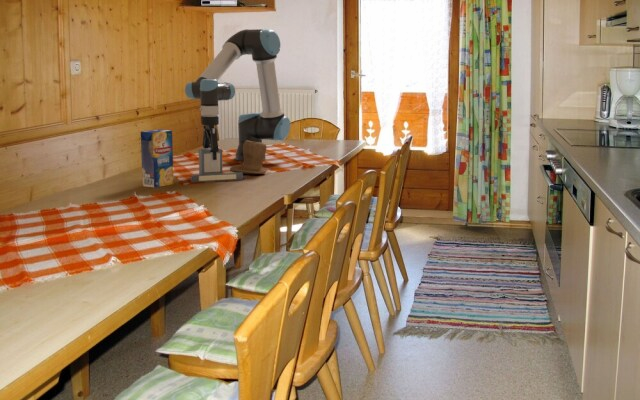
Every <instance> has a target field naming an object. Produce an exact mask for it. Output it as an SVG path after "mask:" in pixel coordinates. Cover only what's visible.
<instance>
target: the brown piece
mask: <svg viewBox="0 0 640 400" xmlns="http://www.w3.org/2000/svg"><path fill="white" fill-rule="evenodd" d="M266 152H267V144H266V142H263V141H262V142H255V141H249V140H246V141H245V142H244V144H243V156H244V161H243V163H242V164H239V165H238V164H236V165H232V166H231V167H230V168H229V171H230V173H238V172H242V173H243V175H263V174H265V173H267V170H266V169H265V168H264V167H263V165H262V164H263V161H264V160H263V159H264V157H265V155H266Z"/></svg>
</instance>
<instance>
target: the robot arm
mask: <svg viewBox="0 0 640 400" xmlns="http://www.w3.org/2000/svg"><path fill="white" fill-rule="evenodd" d="M280 48H281V40H280V37H279V35H278V34H277V32H276V31H274V30H273V29H265V28H261V29H254V28H253V29H242V30H239V31H237V32H235V33H234V34H232V35H231V36H230V37H229V38H228V39H227V40H226V41H225V42H224V43H223V44H222V48H221V50H220V51H219V53H218V54H217V55H216V56H215V57H214V59H213V60H212V61H211V62H210V63H209V65H208V66H207V67H206V68H205V69H204V71H203V72H202V73H201V74H200V76H199V77H197V79H196V80H195V81H189V82H186V85H185V88H184V93H185V95H186V97H187V98H189V99H192V100H200V107H199V111H200V115H201V116H200V124H201V125H202V126H203V135H202V145H201V146H202V149H210V148H211V150H210V152H211V168H213V167H218V162H217V152H218V151H219V142H218V133H217V132H218V131H217V130H218V129H217V128H215V126H217V125H219V123H220V122H219V121H220V120H219V119H220V118H219V116H218V115H219V114H220V113H219V112H220V111H219V109H220V107H219V101H221V102H222V101H229V100H233V98H234V97H235V96H236V88H235V86H234V85H233V83H231V82H219V80H220V79H221V77H223V75H224V74H225V73H226V72H227V71H228V69H229V68H230V67H231V66H232V64H233V63H234V62H235V61H236V60H239V59H240V58H241V57H242V56H244V55H250V56H251V58H252V61H253V62H254V63H255V64H256V71H257V77H258V85H259V91H260V100H261V101H260V102H261V107H262V112H252V113H251V112H250V113H243V114H240V115H239V116H238V122H237V124H238V145H237V148H236V152H235V155H234V159H235V160H236V161H240V160H241V162H244V156H243V144H244V142H245V141H246V140H249V141H255V142H262V143H263V140H267V141H284V140H285V139H287V137H288V136H289V133H290V130H291V120H290V118H289V117H287V116H286V115H285V112H284V110H282V108H281V103H280V97H279V96H280V93H279V89H278V79H277V72H276V64H275V61H276V59H277V58H278V57H277V56H278V54H279V53H280V51H281V49H280ZM266 158H267V157H266V154H265V157H264V159H263V161H265V160H266Z"/></svg>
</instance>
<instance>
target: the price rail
mask: <svg viewBox="0 0 640 400" xmlns="http://www.w3.org/2000/svg"><path fill="white" fill-rule="evenodd" d="M243 180H244V174H243V173H242V172H238V173H235V172H224V173H223V172H222V173H219V174H199V173H198V174H191V175H190V183H192V184H193V183H209V182H211V183H212V182H227V181H230V182H231V181H243Z"/></svg>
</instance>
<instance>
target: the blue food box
mask: <svg viewBox="0 0 640 400" xmlns="http://www.w3.org/2000/svg"><path fill="white" fill-rule="evenodd" d="M173 146H174V145H173V130H169V129H152V130H144V131H140V155H141V177H142V181H141V182H142V183H141V184H142V187H148V188H149V187H150V188H160V187H164V186H169V185H174V184H175V182H174V152H173V151H174V150H173V149H174V148H173Z"/></svg>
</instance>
